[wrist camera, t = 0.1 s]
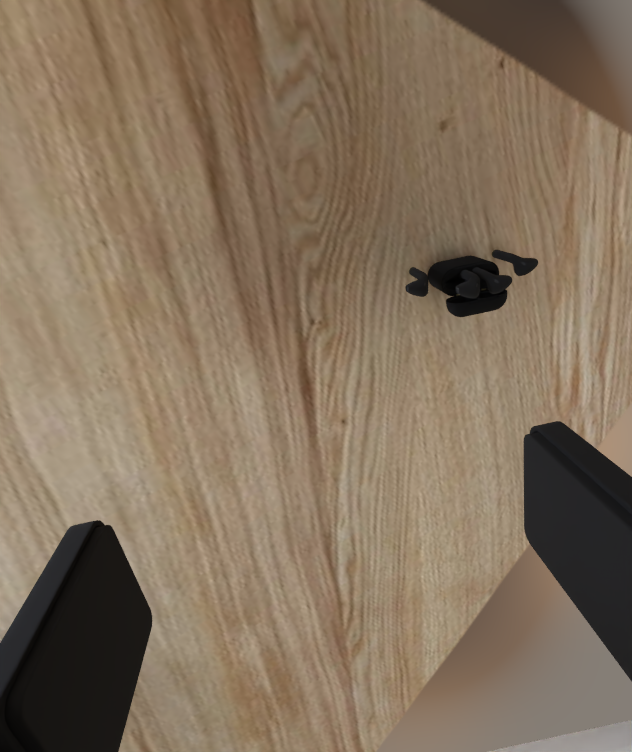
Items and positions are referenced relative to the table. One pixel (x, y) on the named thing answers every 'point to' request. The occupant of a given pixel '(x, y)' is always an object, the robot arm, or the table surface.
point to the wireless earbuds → (470, 282)
